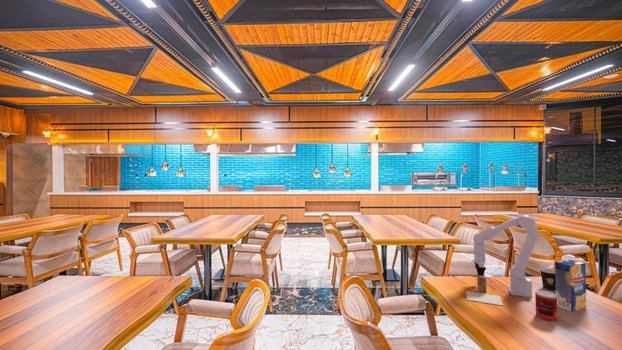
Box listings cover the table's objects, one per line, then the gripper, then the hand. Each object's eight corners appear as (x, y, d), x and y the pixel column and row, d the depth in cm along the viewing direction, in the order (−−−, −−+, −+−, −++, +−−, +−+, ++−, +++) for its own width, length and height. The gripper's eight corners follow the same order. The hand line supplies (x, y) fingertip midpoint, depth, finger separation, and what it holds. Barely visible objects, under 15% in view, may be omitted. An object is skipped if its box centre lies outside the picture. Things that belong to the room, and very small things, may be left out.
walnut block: (485, 291, 160) (485, 275, 160) (486, 294, 156) (486, 278, 156) (477, 290, 162) (477, 274, 162) (478, 293, 158) (477, 277, 158)
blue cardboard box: (586, 307, 139) (585, 263, 139) (572, 311, 135) (571, 265, 135) (569, 301, 145) (568, 259, 145) (555, 305, 142) (554, 261, 142)
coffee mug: (537, 287, 165) (537, 270, 165) (545, 284, 168) (545, 267, 168) (561, 294, 154) (561, 276, 154) (569, 291, 158) (569, 273, 158)
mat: (499, 296, 153) (499, 296, 153) (503, 306, 142) (503, 305, 142) (466, 291, 160) (466, 291, 160) (467, 300, 149) (467, 299, 149)
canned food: (548, 313, 134) (548, 290, 134) (562, 322, 126) (561, 297, 126) (531, 312, 135) (531, 289, 135) (543, 321, 127) (543, 297, 127)
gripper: (471, 249, 176) (471, 271, 176) (472, 255, 163) (473, 279, 163) (484, 250, 173) (484, 272, 173) (486, 257, 160) (487, 280, 160)
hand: (480, 276), depth 168 cm, fingers open, 7 cm apart
